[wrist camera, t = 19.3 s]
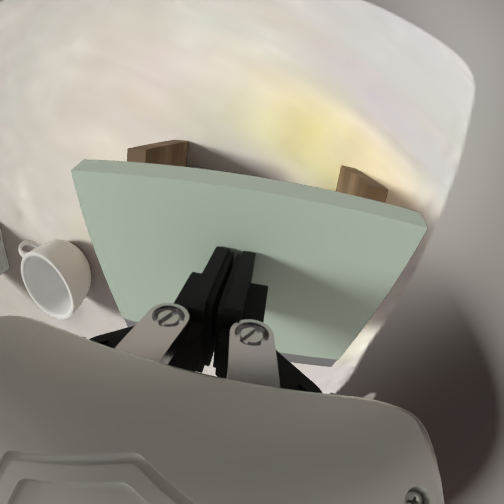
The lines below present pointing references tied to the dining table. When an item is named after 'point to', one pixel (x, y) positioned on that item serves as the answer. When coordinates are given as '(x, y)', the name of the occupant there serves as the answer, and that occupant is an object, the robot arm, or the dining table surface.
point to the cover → (248, 246)
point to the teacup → (55, 276)
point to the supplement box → (3, 256)
